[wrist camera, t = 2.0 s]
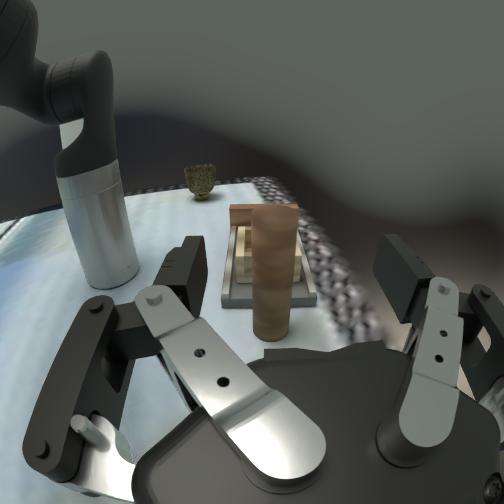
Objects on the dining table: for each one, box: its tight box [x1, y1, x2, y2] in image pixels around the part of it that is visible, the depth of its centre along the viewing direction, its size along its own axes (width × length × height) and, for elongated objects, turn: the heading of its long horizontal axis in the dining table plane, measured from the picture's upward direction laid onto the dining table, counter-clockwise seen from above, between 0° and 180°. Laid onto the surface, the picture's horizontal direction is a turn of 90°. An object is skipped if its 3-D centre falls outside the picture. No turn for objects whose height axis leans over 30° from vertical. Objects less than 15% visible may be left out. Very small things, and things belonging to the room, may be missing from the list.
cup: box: [184, 164, 216, 201], centre depth 64 cm, size 8×7×8 cm
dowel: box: [251, 204, 298, 342], centre depth 27 cm, size 4×4×14 cm
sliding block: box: [235, 226, 302, 283], centre depth 38 cm, size 8×8×4 cm
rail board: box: [221, 204, 317, 308], centre depth 41 cm, size 20×12×6 cm, turn 0°
